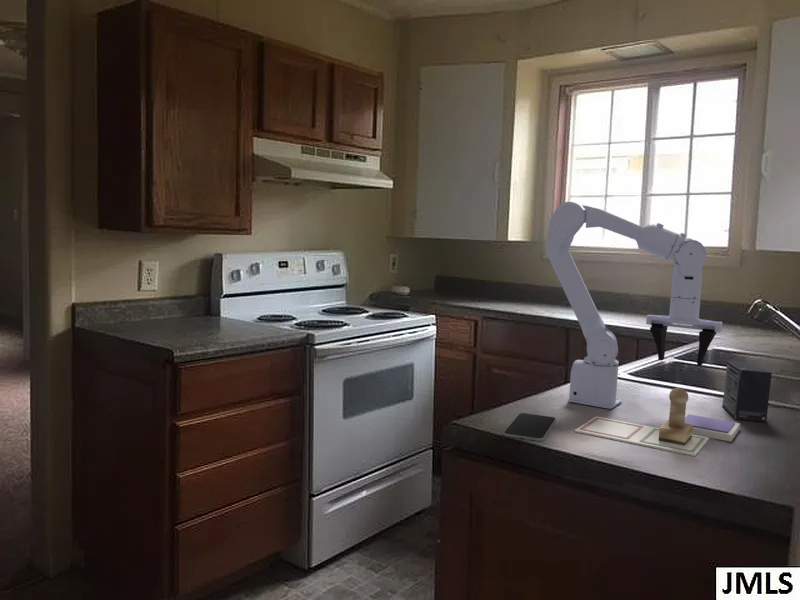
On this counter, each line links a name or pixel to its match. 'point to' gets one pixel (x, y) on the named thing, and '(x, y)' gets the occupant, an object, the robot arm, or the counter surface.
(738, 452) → the counter surface
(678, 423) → the stamp
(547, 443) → the counter surface
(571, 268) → the robot arm
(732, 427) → the ink pad
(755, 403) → the small box
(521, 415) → the smartphone
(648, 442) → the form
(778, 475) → the counter surface
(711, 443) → the counter surface
